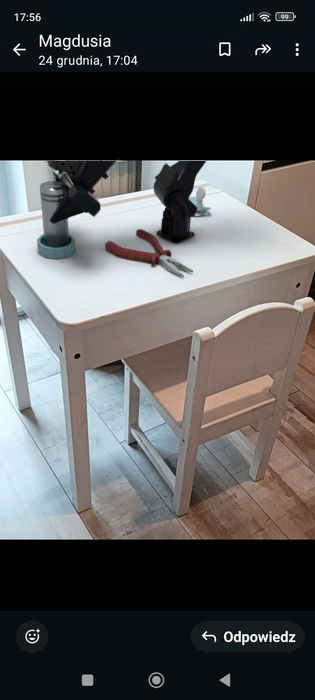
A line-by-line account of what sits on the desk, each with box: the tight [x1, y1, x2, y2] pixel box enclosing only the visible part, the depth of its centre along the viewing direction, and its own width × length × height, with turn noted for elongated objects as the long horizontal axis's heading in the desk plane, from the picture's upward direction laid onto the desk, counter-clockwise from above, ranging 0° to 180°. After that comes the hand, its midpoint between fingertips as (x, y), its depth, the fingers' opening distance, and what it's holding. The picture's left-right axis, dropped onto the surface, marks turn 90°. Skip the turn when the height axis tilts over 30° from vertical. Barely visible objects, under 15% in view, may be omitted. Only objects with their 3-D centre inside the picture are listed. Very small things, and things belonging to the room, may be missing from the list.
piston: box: [39, 180, 70, 248], centre depth 118 cm, size 5×5×13 cm
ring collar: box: [36, 233, 76, 260], centre depth 122 cm, size 8×8×2 cm
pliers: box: [104, 228, 194, 278], centre depth 121 cm, size 12×20×3 cm, turn 46°
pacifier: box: [189, 186, 211, 217], centre depth 140 cm, size 7×6×6 cm
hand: (48, 216), depth 117 cm, fingers closed on piston, 5 cm apart
